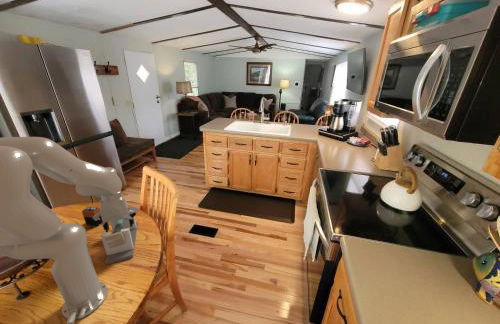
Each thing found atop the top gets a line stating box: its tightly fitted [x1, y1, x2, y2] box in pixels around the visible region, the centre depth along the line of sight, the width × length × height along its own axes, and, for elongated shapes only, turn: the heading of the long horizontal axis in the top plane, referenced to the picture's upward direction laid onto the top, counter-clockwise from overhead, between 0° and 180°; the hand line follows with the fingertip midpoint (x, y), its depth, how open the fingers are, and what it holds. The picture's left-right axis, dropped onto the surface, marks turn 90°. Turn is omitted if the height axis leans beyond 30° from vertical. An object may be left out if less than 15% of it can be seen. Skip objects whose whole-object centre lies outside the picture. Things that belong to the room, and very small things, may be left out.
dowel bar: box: [105, 219, 126, 249], centre depth 94 cm, size 20×6×6 cm, turn 23°
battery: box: [81, 206, 102, 227], centre depth 107 cm, size 4×7×10 cm, turn 84°
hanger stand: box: [100, 210, 138, 265], centre depth 95 cm, size 24×10×12 cm, turn 23°
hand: (120, 227), depth 94 cm, fingers open, 9 cm apart
